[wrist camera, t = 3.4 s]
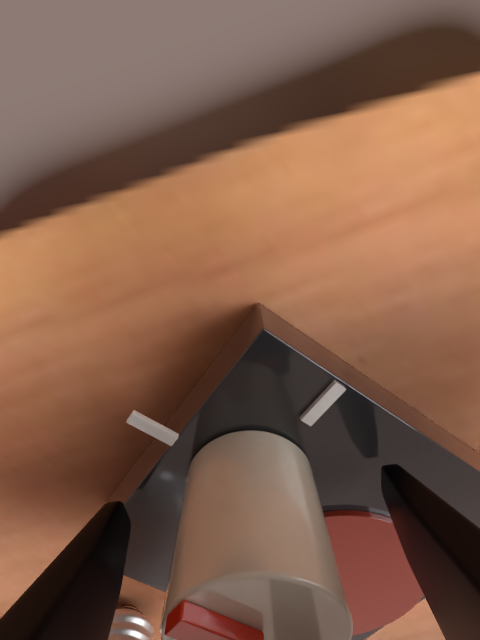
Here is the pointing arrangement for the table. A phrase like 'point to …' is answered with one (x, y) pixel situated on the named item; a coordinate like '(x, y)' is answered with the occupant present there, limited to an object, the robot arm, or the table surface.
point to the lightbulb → (130, 625)
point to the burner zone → (372, 568)
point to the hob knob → (253, 548)
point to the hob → (288, 437)
